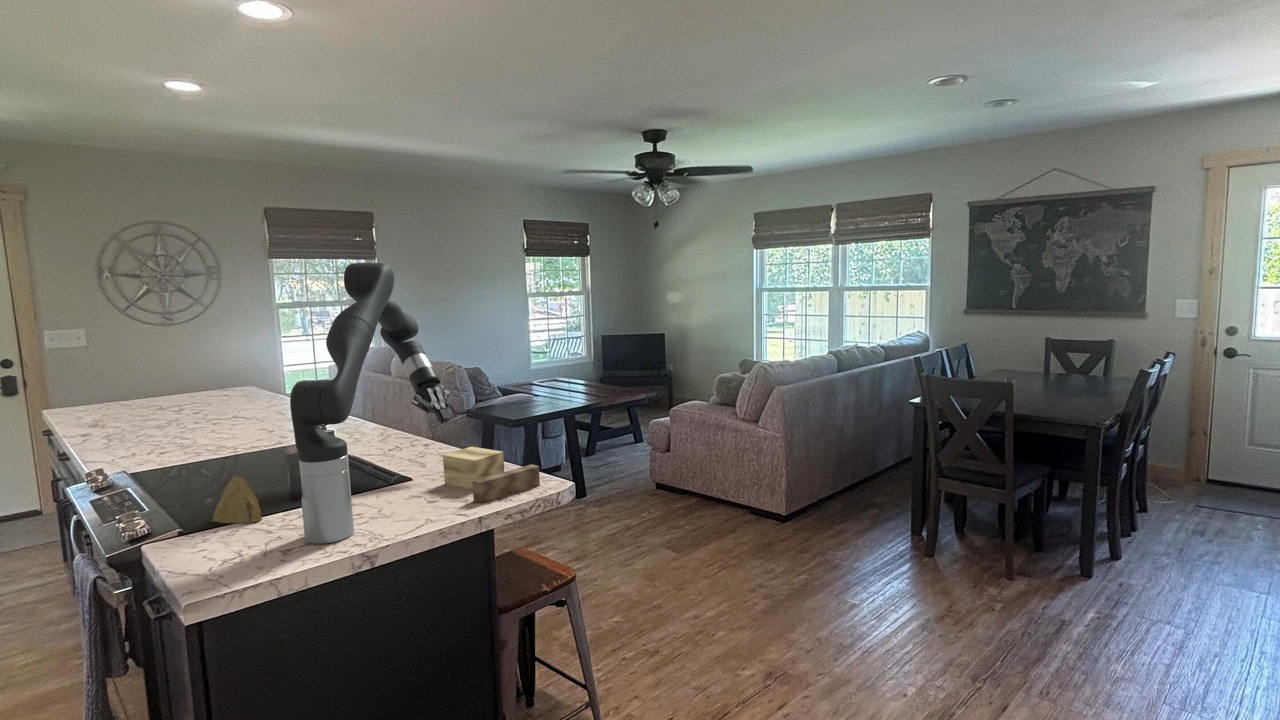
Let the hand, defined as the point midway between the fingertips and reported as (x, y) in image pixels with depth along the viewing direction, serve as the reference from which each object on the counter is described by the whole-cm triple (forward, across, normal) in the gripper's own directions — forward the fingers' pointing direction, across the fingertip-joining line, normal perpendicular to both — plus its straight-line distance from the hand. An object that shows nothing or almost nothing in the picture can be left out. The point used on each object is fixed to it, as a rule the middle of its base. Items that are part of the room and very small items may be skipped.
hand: (445, 421), depth 186 cm
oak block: (+20, 0, 0) cm, 20 cm away
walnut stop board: (+30, 0, -10) cm, 31 cm away
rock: (+8, -52, +13) cm, 54 cm away
